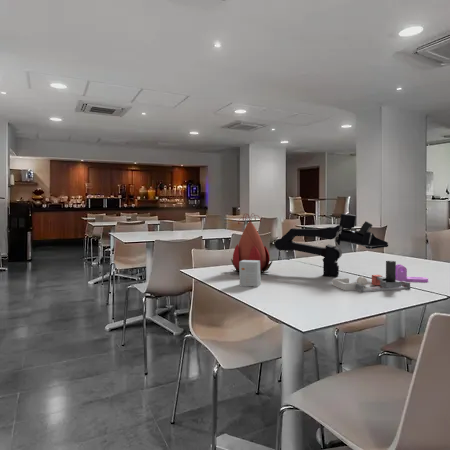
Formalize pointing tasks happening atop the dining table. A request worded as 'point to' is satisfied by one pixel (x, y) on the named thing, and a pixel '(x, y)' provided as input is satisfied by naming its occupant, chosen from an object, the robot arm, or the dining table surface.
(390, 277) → the post on base plate
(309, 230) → the robot arm
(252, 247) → the decorative flower
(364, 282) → the ball
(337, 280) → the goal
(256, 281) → the small box
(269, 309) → the dining table surface
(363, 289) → the rail
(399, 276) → the bracket
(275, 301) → the dining table surface
